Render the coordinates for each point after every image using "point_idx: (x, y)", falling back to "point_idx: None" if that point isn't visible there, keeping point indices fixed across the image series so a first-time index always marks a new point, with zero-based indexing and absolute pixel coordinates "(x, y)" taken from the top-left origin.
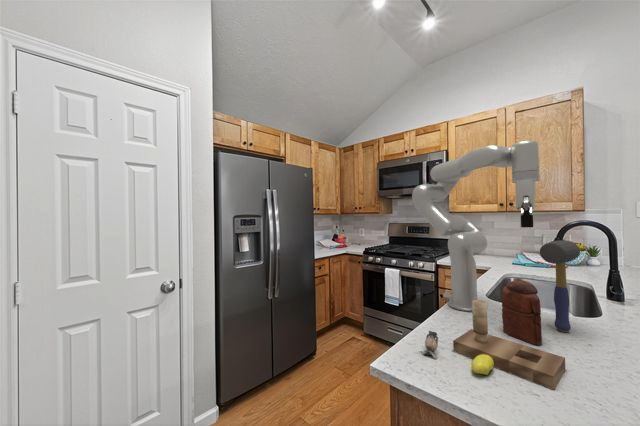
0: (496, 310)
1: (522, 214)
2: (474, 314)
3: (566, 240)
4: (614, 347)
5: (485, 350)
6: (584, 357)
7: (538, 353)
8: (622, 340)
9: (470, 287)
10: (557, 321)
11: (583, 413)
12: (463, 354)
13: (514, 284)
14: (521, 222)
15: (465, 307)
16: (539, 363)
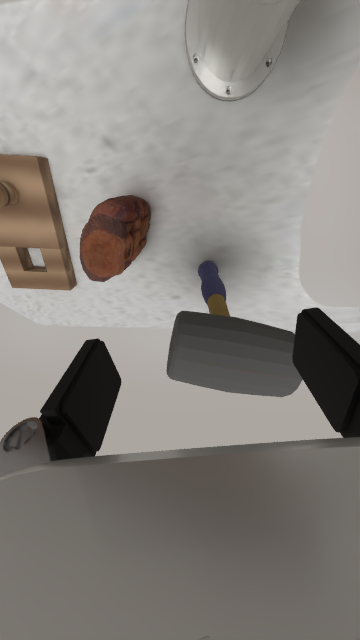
0: (255, 138)
1: (15, 433)
2: None
3: (291, 389)
4: None
5: None
6: (129, 295)
7: (51, 267)
8: None
9: (217, 33)
10: (201, 268)
11: (10, 302)
12: None
13: (80, 242)
14: (73, 363)
15: (200, 52)
16: (26, 273)
